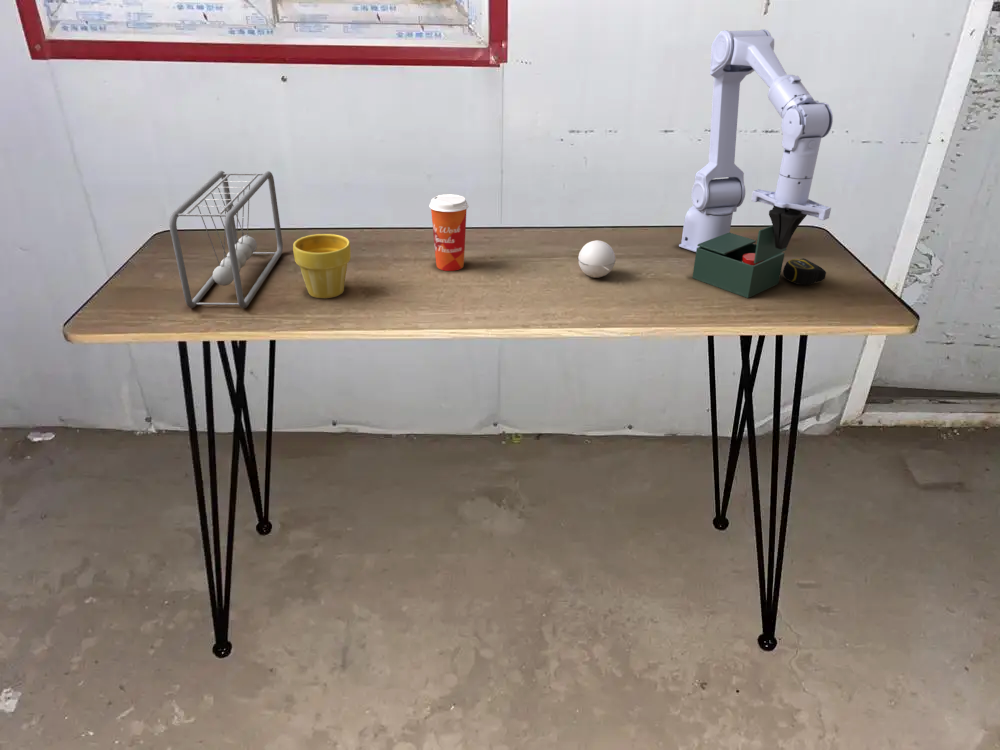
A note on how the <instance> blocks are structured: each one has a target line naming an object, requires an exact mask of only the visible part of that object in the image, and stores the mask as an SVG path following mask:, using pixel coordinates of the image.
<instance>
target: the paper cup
mask: <svg viewBox="0 0 1000 750" xmlns="http://www.w3.org/2000/svg"><path fill="white" fill-rule="evenodd" d="M429 208H430V212H431V213H430V214H431V223H432V231H433V232H432V235H433V247H434V255H435V265H436V268H437V269H439V270H441V271H445V272H455V271H459V270H462V269H463V268H464V264H465V253H466V252H465V251H466V250H465V249H466V233H467V232H466V231H467V230H466V229H467V228H466V227H467V210H468V208H470V207H469V204H468V202H467V200H466V198H465V196H463V195H460V194H450V193H448V194H447V193H446V194H439V195H436V196H434V197H433V198H431V200H430V203H429Z"/></svg>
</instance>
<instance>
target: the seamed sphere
mask: <svg viewBox="0 0 1000 750" xmlns="http://www.w3.org/2000/svg"><path fill="white" fill-rule="evenodd" d="M577 262H578V266H579V268H580V271H582V272H583V273H584V274H585V275H586V276H588V277H590V278H594V279H597V278H602V277H605V276H607V275H608V274H610V273H611V271H612V270H613V268H614V267H615V263H616V253H615V252H614V249H613V247H612V246H611V245H610V244H608V243H607V242H605V241H603V240H598V239H596V240H592V241H588V242H587V243H586V244H584V245H583V246H582V248H581V249H580V251H579V252H578V256H577Z"/></svg>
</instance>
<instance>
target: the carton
mask: <svg viewBox="0 0 1000 750" xmlns="http://www.w3.org/2000/svg"><path fill="white" fill-rule="evenodd" d="M698 246H700V247H698V248H697V250H696V252H695V258H694V264H693V269H692V277H691V278H692V279H694V280H696V281H699V282H702V283H705V284H708V285H710V286H713V287H716V288H718V289H721V290H724V291H726V292H729V293H732V294H735V295H738V296H740V297H744V298H747V299H749V298H752V297H754V296H756V295H758V294H759V293H761V292H764V291H767V290H768V289H770V288H773V287H775V286H776V285H779V282H780V278H781V273H782V270H783V264H784V259H785V252H781V253H778V254H776V255H774V256H772V257H769V258H767V259H765V260H764V261H763V262H760V263H758V264H756V265H754V266H752V265H749V264H746V263H743V262H742V257H743V255H744V254H746V253H755V252H756V246H757V240H755V239H752V238H749V237H746V236H743V235H739V234H736V233H732V232H731V231H730V232H729V233H726V234H724V235H721V236H718V237H716V238H713V239H710V240H708V241H705V242H702V243H700V244H698Z"/></svg>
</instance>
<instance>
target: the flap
mask: <svg viewBox="0 0 1000 750" xmlns="http://www.w3.org/2000/svg"><path fill="white" fill-rule="evenodd" d="M756 244H757V246H756V252H755V258H754V263H758V262H760V261H762V260H765V259H767V258H769V257H772V256H774V255H776V254H778V253H781V252H782V253H784V252H785V251H787V248H788V246H787V247H786V248H784V249H778V248H775V235H774V228H773V224H771V225H770V226H767V227H765V228H762V229H759V230H758V234H757V240H756Z"/></svg>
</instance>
